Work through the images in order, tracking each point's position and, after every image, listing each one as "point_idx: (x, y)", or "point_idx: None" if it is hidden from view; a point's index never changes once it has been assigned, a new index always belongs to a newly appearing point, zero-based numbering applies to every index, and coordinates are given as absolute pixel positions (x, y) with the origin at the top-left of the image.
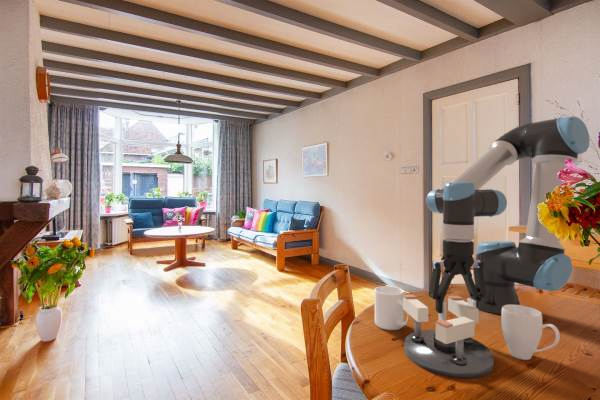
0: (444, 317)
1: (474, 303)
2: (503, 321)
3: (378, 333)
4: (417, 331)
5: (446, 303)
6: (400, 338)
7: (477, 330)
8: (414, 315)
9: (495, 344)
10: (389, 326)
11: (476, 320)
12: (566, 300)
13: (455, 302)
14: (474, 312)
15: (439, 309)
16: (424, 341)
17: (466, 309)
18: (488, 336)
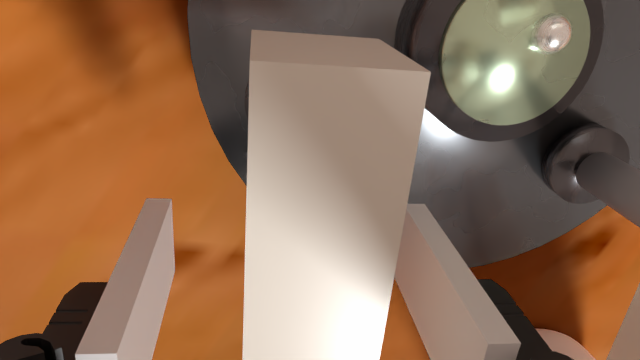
0: (443, 242)
1: (107, 332)
2: None
3: (625, 303)
4: (635, 169)
5: (483, 331)
6: (561, 247)
7: (47, 298)
8: None
9: (34, 115)
10: (570, 341)
11: (277, 35)
12: None
13: (382, 335)
14: (315, 55)
15: (502, 302)
16: (553, 135)
17: (421, 104)
18: (18, 221)
